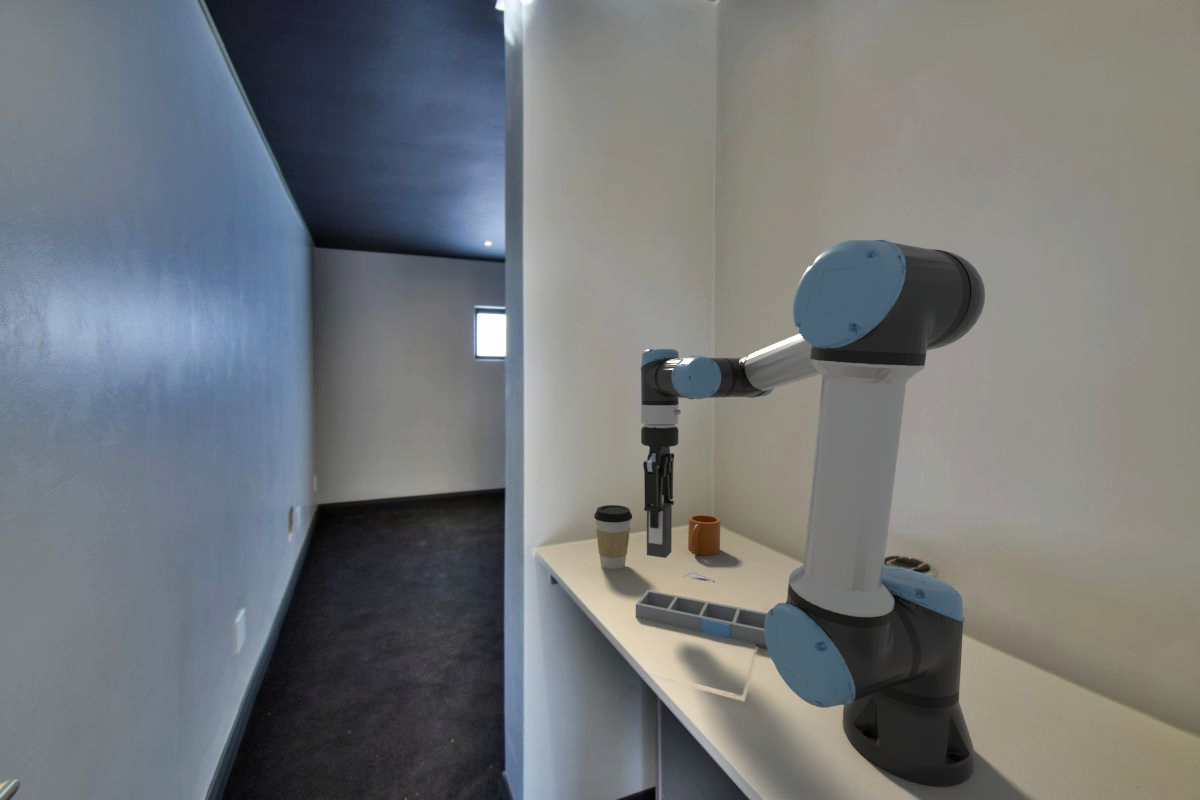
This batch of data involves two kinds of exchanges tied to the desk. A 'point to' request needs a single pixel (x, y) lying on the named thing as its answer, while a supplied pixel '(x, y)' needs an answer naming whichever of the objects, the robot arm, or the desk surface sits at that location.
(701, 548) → the mug
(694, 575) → the smartphone
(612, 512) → the coffee cup
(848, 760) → the desk surface
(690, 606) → the compartment organizer tray
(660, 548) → the grey block with peg
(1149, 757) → the desk surface
